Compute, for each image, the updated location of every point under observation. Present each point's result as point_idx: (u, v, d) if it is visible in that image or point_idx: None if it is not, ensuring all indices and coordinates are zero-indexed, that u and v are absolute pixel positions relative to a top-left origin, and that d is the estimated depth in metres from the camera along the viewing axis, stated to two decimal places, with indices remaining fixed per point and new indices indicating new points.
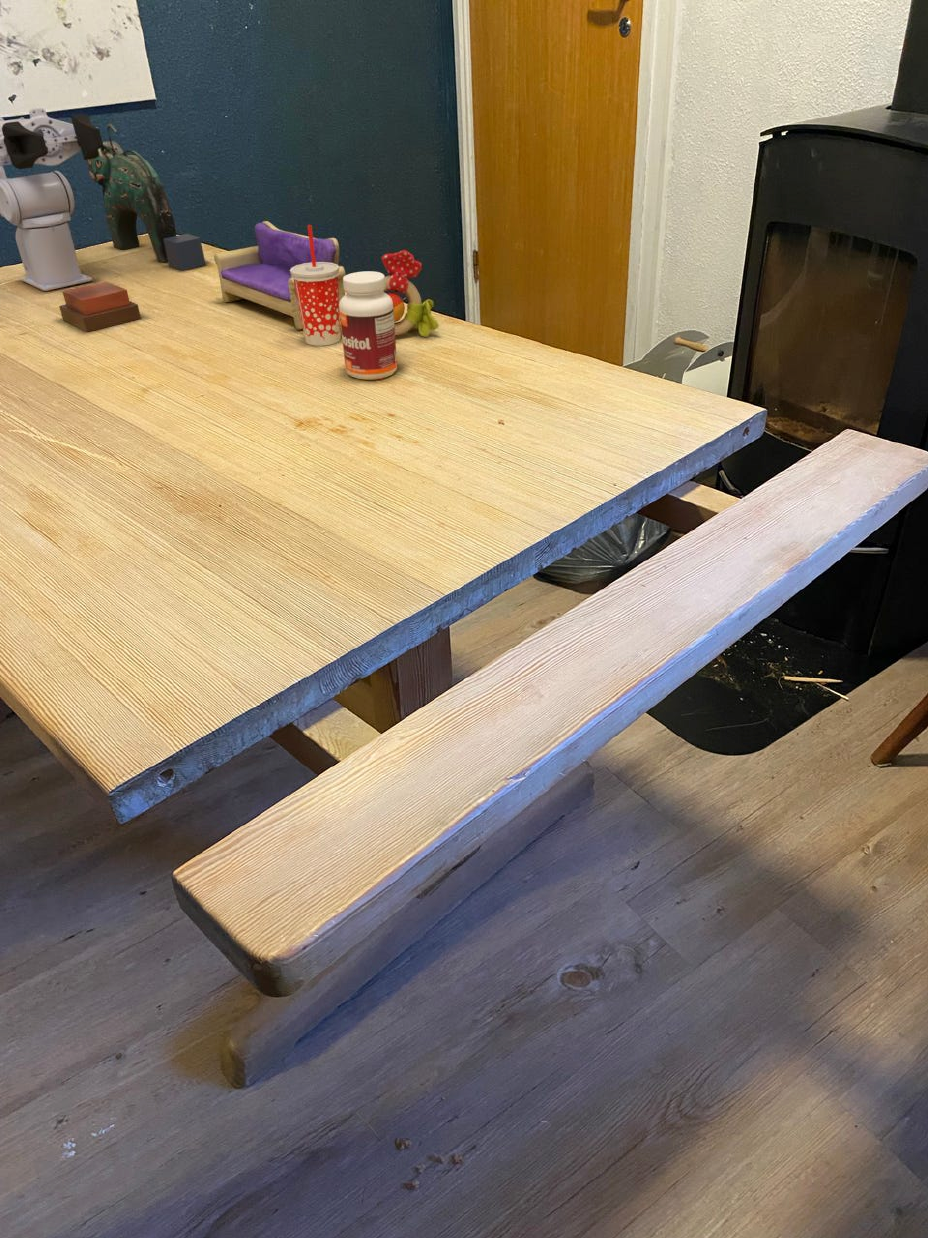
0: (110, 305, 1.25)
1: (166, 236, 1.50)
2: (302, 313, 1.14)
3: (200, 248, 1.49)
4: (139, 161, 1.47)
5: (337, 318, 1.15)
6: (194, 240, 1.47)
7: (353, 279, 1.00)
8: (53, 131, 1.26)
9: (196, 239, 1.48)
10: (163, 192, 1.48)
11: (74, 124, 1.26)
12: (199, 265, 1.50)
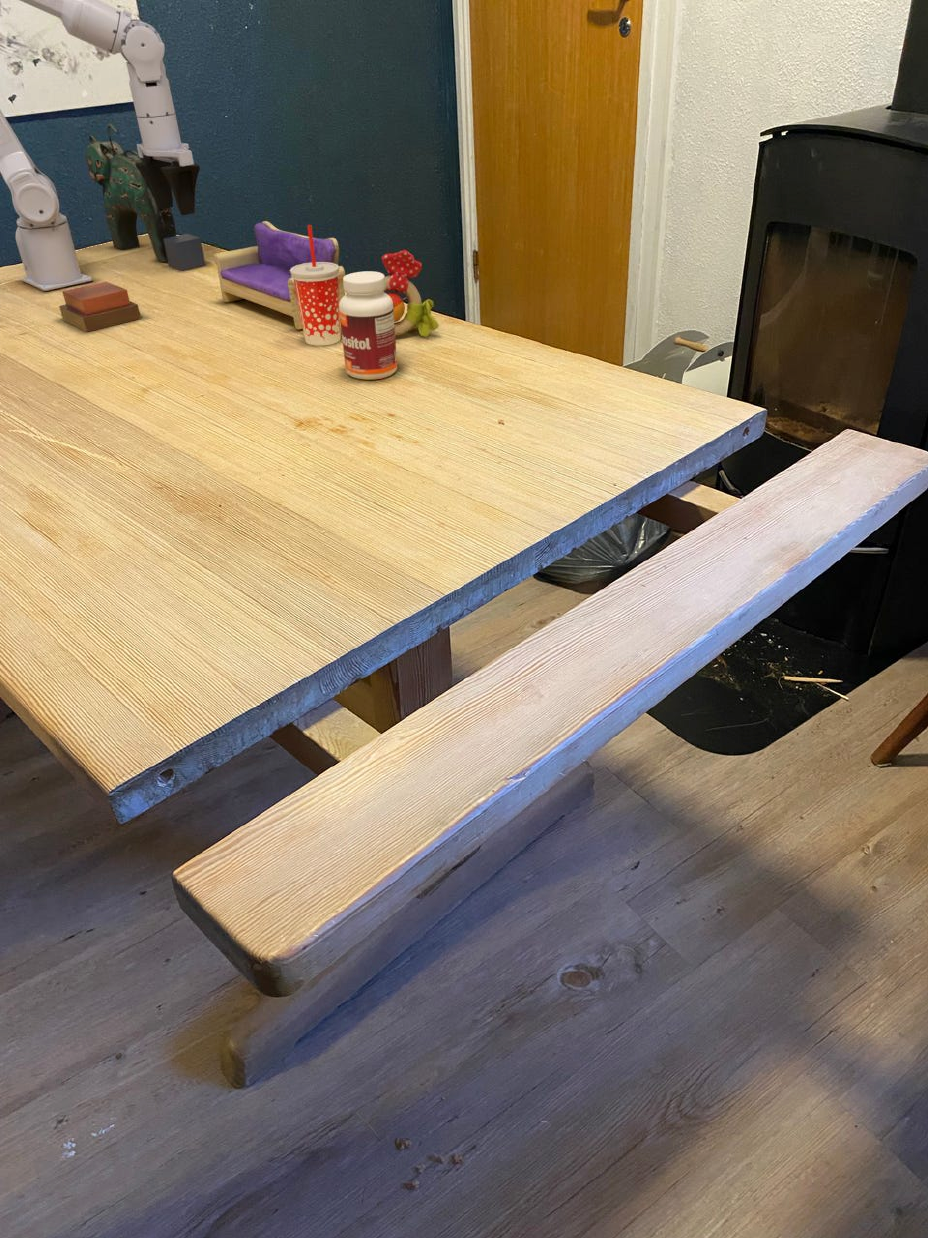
0: (110, 305, 1.25)
1: (166, 236, 1.50)
2: (302, 313, 1.14)
3: (200, 248, 1.49)
4: (139, 161, 1.47)
5: (337, 318, 1.15)
6: (194, 240, 1.47)
7: (353, 279, 1.00)
8: None
9: (196, 239, 1.48)
10: None
11: (166, 162, 1.45)
12: (199, 265, 1.50)
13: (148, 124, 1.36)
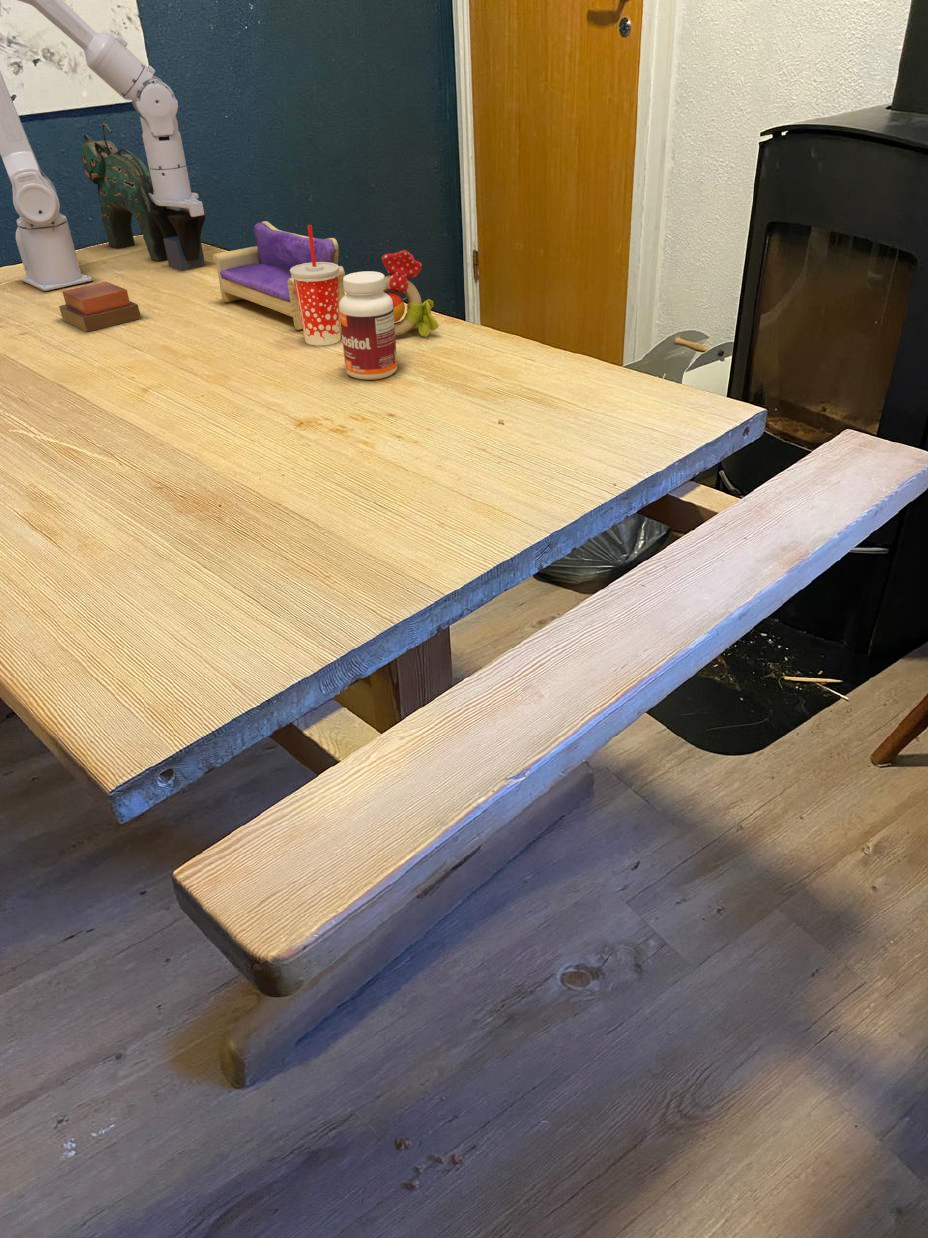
0: (110, 305, 1.25)
1: (159, 235, 1.51)
2: (302, 313, 1.14)
3: (200, 248, 1.49)
4: (133, 160, 1.48)
5: (337, 318, 1.15)
6: None
7: (353, 279, 1.00)
8: None
9: None
10: None
11: (179, 210, 1.48)
12: (199, 265, 1.50)
13: (160, 176, 1.40)
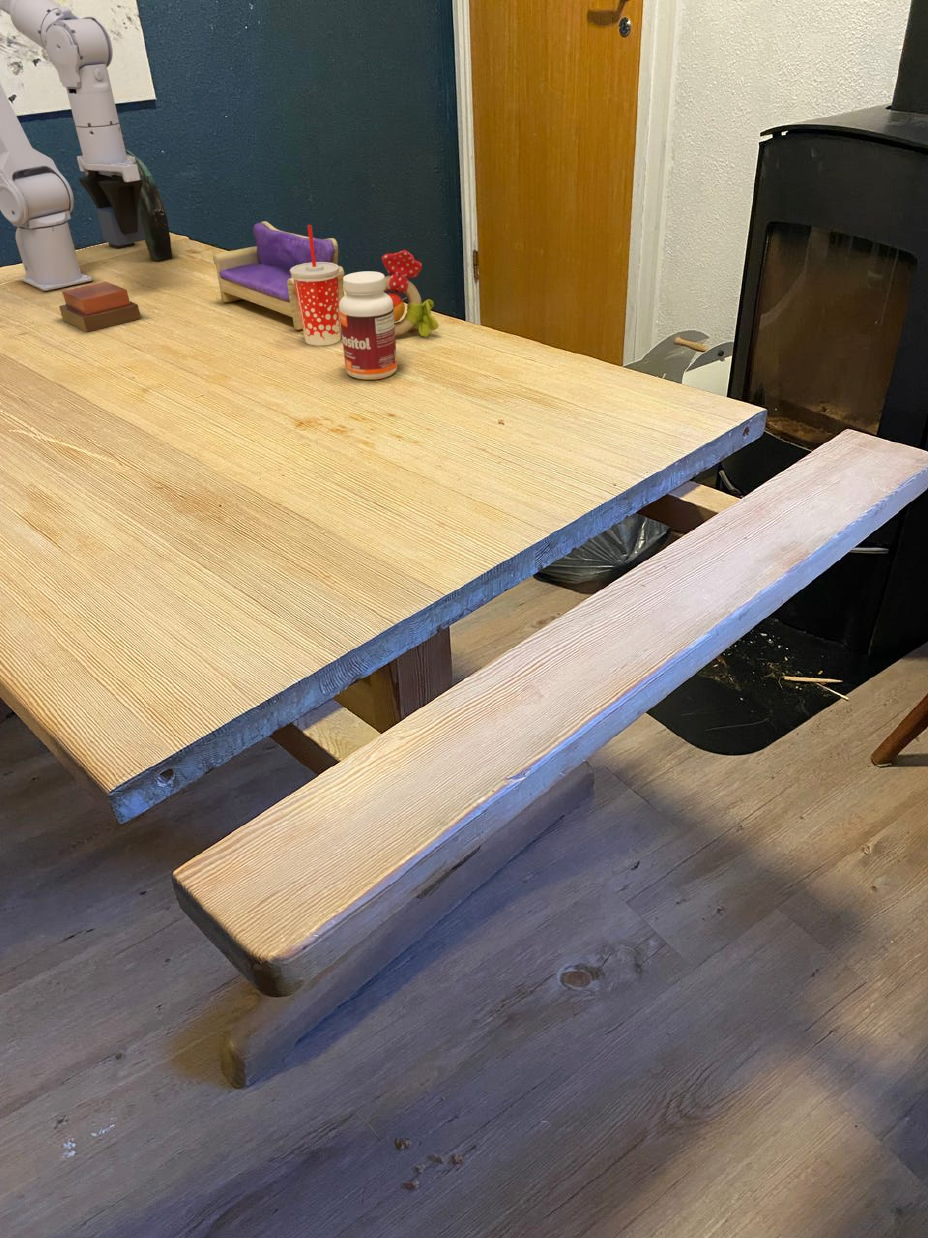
0: (110, 305, 1.25)
1: (159, 235, 1.51)
2: (302, 313, 1.14)
3: (139, 220, 1.30)
4: None
5: (337, 318, 1.15)
6: None
7: (353, 279, 1.00)
8: None
9: None
10: (156, 191, 1.49)
11: None
12: (138, 240, 1.31)
13: (88, 135, 1.21)
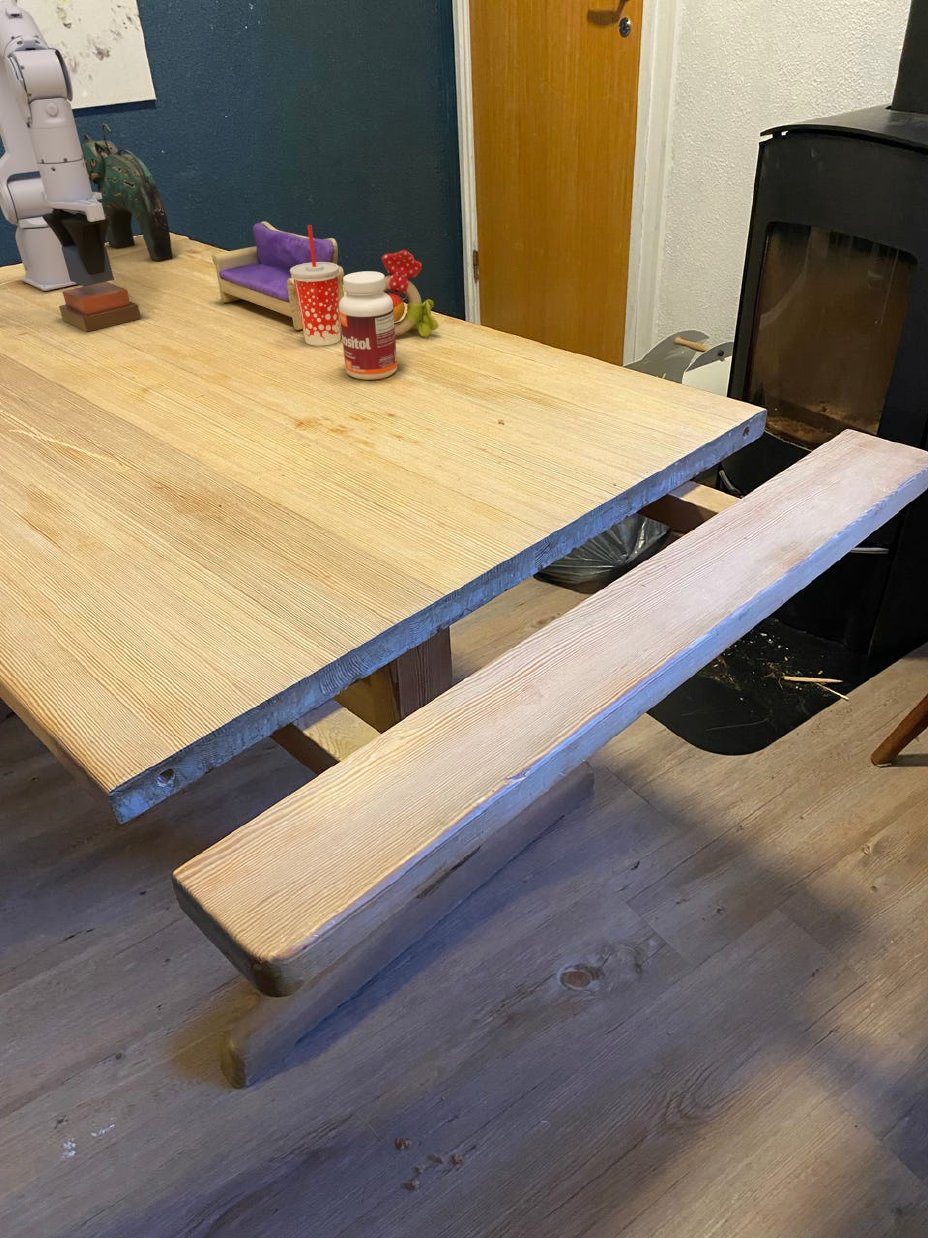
0: (110, 305, 1.25)
1: (159, 235, 1.51)
2: (302, 313, 1.14)
3: (106, 259, 1.23)
4: (133, 160, 1.48)
5: (337, 318, 1.15)
6: None
7: (353, 279, 1.00)
8: None
9: None
10: (156, 191, 1.49)
11: None
12: (106, 279, 1.24)
13: (50, 171, 1.14)
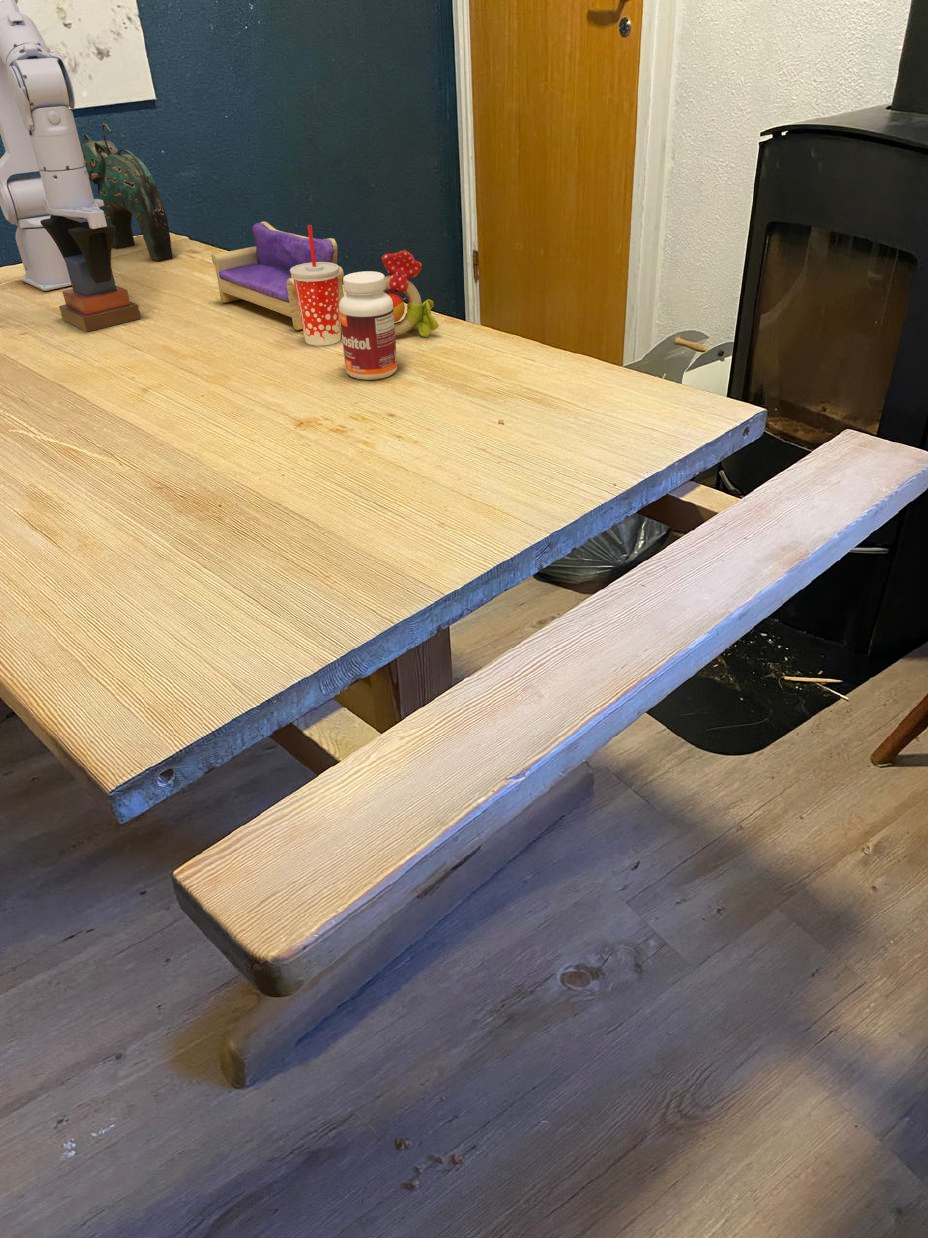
0: (110, 305, 1.25)
1: (159, 235, 1.51)
2: (302, 313, 1.14)
3: None
4: (133, 160, 1.48)
5: (337, 318, 1.15)
6: None
7: (353, 279, 1.00)
8: None
9: None
10: (156, 191, 1.49)
11: None
12: (108, 289, 1.25)
13: (52, 179, 1.15)
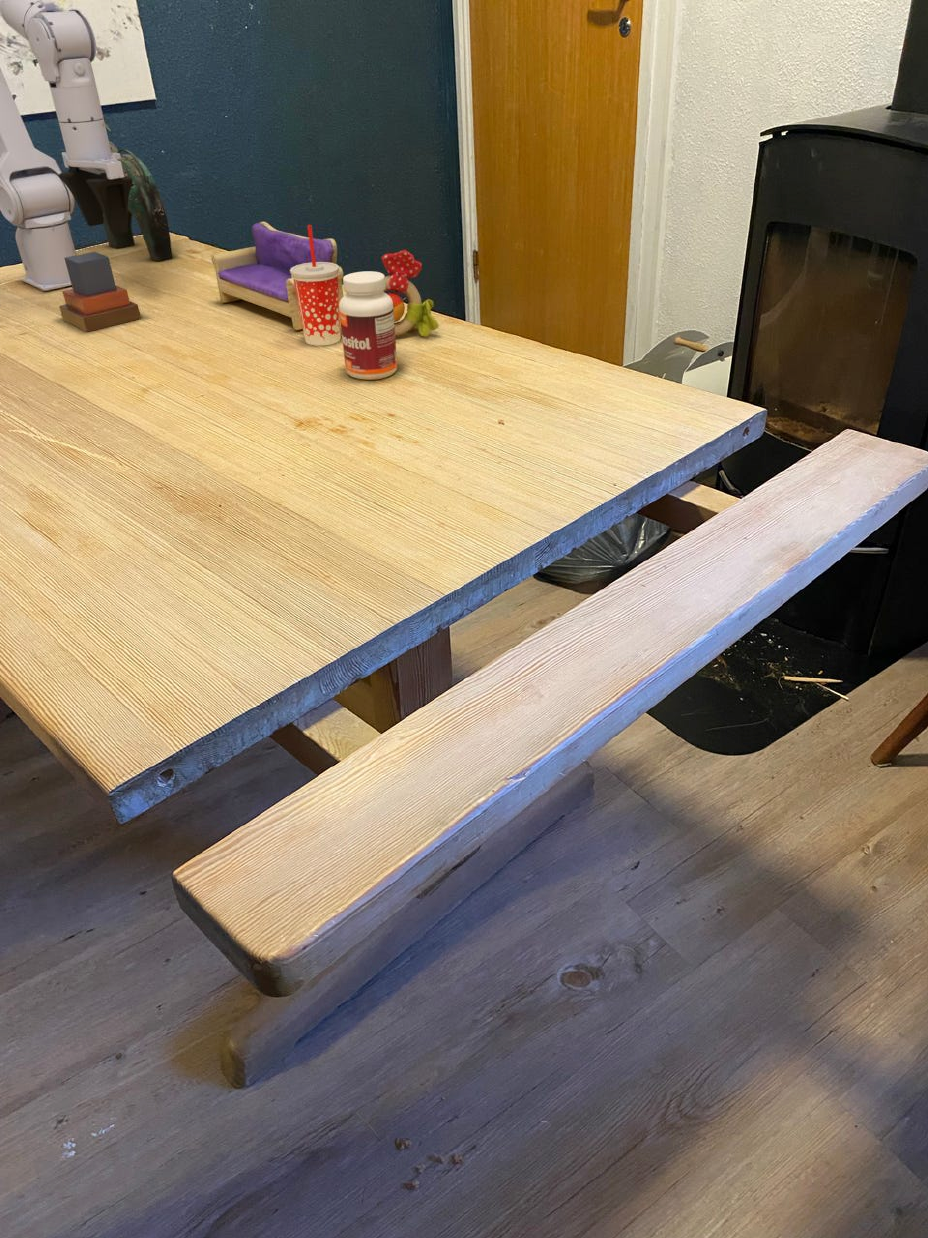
0: (110, 305, 1.25)
1: (159, 235, 1.51)
2: (302, 313, 1.14)
3: (109, 269, 1.24)
4: (133, 160, 1.48)
5: (337, 318, 1.15)
6: (101, 260, 1.22)
7: (353, 279, 1.00)
8: None
9: (103, 259, 1.22)
10: (156, 191, 1.49)
11: (95, 173, 1.27)
12: (108, 289, 1.25)
13: (71, 130, 1.18)
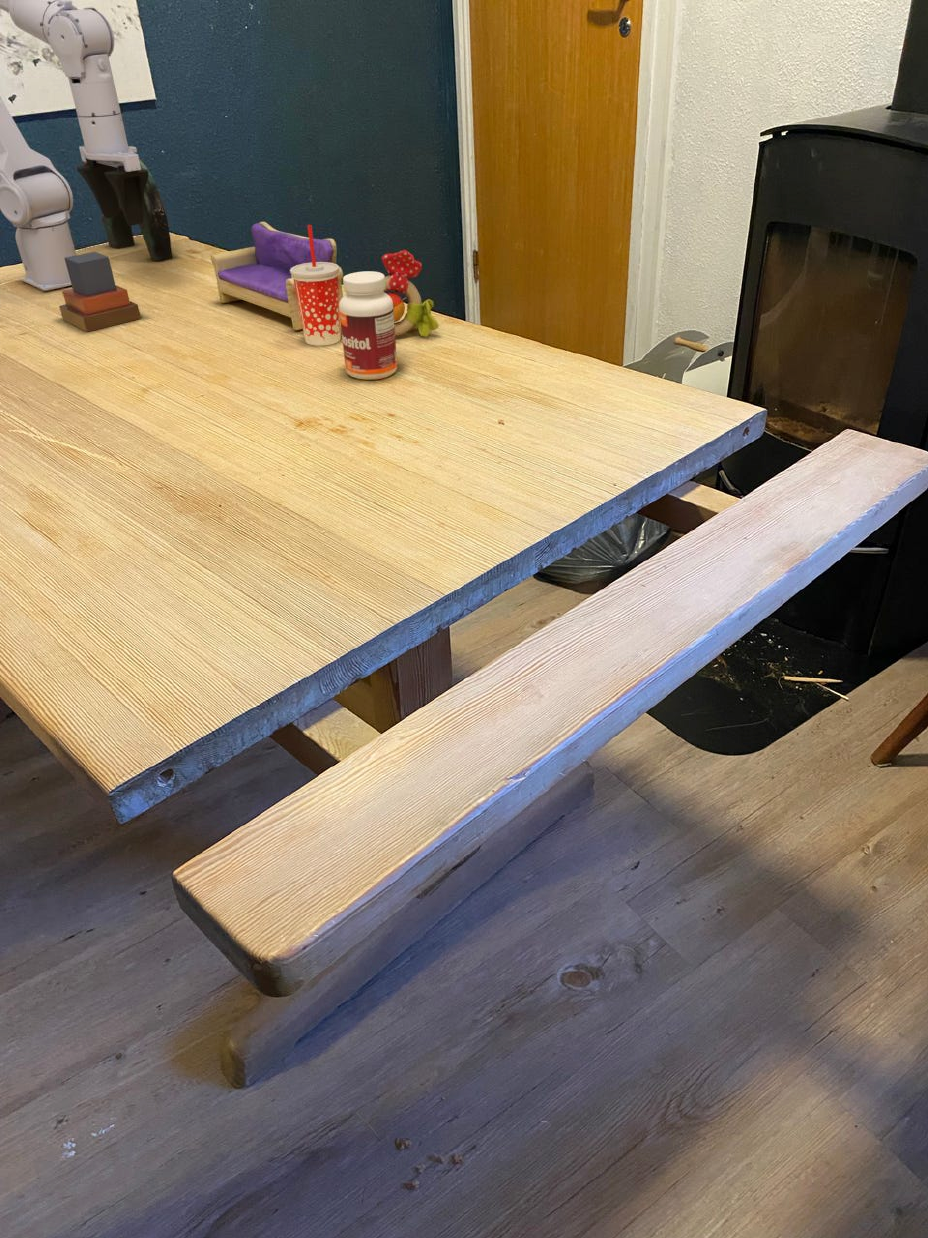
0: (110, 305, 1.25)
1: (159, 235, 1.51)
2: (302, 313, 1.14)
3: (109, 269, 1.24)
4: None
5: (337, 318, 1.15)
6: (101, 260, 1.22)
7: (353, 279, 1.00)
8: None
9: (103, 259, 1.22)
10: (156, 191, 1.49)
11: (111, 166, 1.31)
12: (108, 289, 1.25)
13: (90, 124, 1.22)
